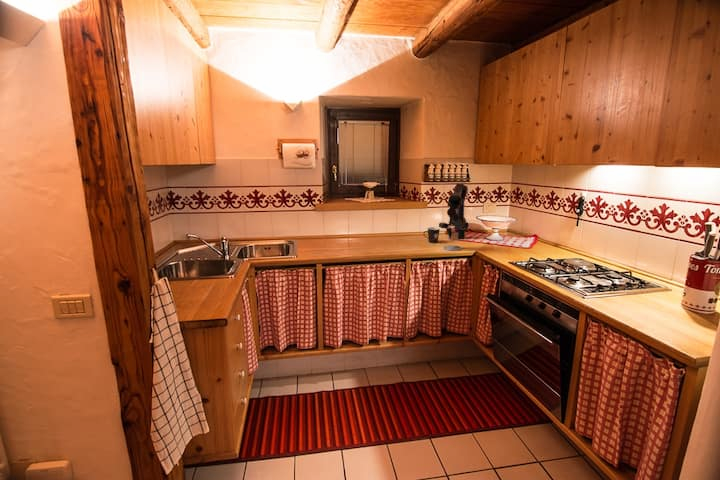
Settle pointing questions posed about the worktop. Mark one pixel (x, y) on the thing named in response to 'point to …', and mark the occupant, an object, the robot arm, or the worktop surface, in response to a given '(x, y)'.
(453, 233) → the block
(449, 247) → the coaster
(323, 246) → the worktop surface
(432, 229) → the coffee mug
